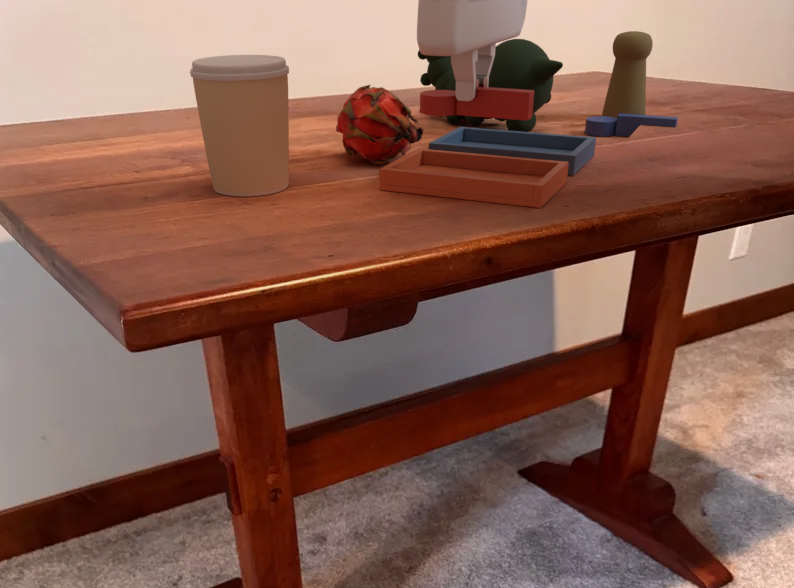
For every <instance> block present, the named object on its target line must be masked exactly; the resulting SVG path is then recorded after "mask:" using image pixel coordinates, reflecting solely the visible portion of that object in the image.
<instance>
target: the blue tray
mask: <svg viewBox="0 0 794 588" xmlns="http://www.w3.org/2000/svg"><path fill="white" fill-rule="evenodd" d="M596 143H597V136H585V135H584V136H583V135H571V134H557V133H547V132H546V133H544V132H535V131H533V132H532V131H529V132H521V131H509V130H508V129H495V128H494V129H493V128H482V127H468V126H458V127H457V128H455V129H453V130H451V131H449V132H447V133H445V134H444V135H442V136H440V137H437V138H435V139H434V140H432V141H430V142H429V143H428V149H431V150H442V151H453V152H464V153H475V154H486V155H497V156H508V157H519V158H531V159H542V160H553V161H564V162H569V165H568V174H567V176H570V177H571V176H572V177H574V176H575V175H576V174H578V172H579V171H580V170H581V169H582V168H583V167H584V166H585V165H586V164H587V163H588V162H589V161H590V160H591V159H593V157H594V156H595V150H596Z"/></svg>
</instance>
